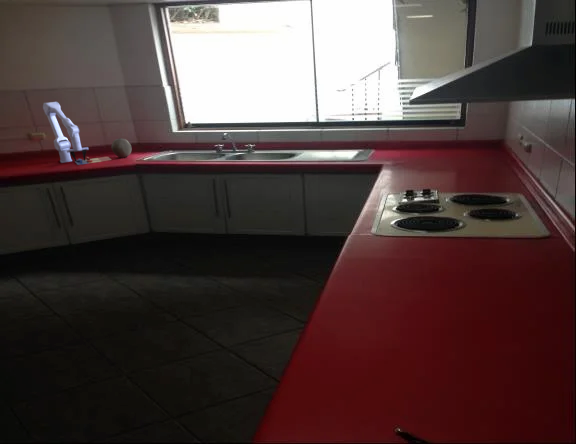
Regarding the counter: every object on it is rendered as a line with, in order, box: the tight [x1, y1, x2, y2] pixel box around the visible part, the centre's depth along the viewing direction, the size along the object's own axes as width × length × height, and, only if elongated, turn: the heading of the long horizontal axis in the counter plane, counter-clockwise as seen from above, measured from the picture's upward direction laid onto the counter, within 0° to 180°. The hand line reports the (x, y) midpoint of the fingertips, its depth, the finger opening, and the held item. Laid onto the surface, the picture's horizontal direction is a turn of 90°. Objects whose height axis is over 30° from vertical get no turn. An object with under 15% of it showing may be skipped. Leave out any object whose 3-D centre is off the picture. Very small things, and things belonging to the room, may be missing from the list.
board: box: [75, 156, 113, 166], centre depth 318 cm, size 16×24×1 cm, turn 123°
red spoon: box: [85, 156, 93, 164], centre depth 316 cm, size 11×4×3 cm, turn 33°
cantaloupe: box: [111, 138, 132, 159], centre depth 321 cm, size 14×14×15 cm
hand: (80, 160), depth 313 cm, fingers open, 5 cm apart
